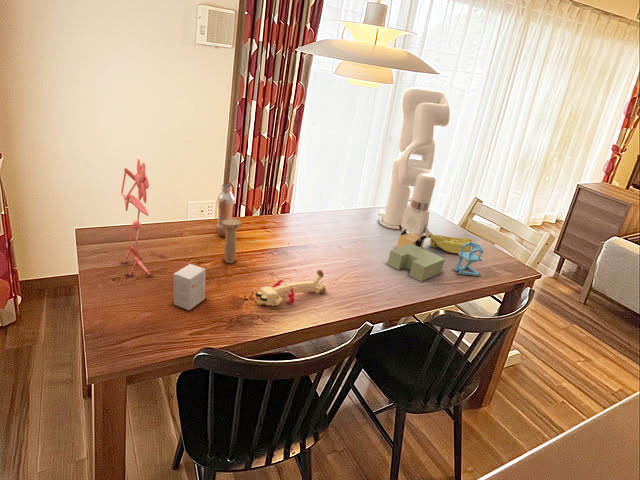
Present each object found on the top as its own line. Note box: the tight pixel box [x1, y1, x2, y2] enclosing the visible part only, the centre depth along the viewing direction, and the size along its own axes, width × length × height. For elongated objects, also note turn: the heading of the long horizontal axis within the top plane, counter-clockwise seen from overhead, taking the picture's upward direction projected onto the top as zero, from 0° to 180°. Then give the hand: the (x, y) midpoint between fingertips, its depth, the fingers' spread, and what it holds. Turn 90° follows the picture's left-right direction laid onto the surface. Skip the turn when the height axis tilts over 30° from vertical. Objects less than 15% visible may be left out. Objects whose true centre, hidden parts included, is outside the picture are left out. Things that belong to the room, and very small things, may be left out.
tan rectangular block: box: [396, 231, 425, 249], centre depth 201 cm, size 7×12×6 cm, turn 135°
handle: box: [222, 218, 242, 264], centre depth 165 cm, size 5×6×15 cm
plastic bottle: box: [215, 183, 235, 237], centre depth 183 cm, size 6×7×20 cm
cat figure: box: [254, 269, 327, 307], centre depth 150 cm, size 10×9×25 cm
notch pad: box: [387, 243, 446, 282], centre depth 184 cm, size 16×14×6 cm
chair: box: [454, 242, 484, 277], centre depth 187 cm, size 8×8×12 cm
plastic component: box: [424, 232, 472, 255], centre depth 208 cm, size 20×7×10 cm
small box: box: [173, 263, 207, 311], centre depth 139 cm, size 8×6×10 cm
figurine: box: [120, 158, 172, 277], centre depth 148 cm, size 15×26×35 cm, turn 30°
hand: (409, 244), depth 200 cm, fingers closed on tan rectangular block, 7 cm apart
